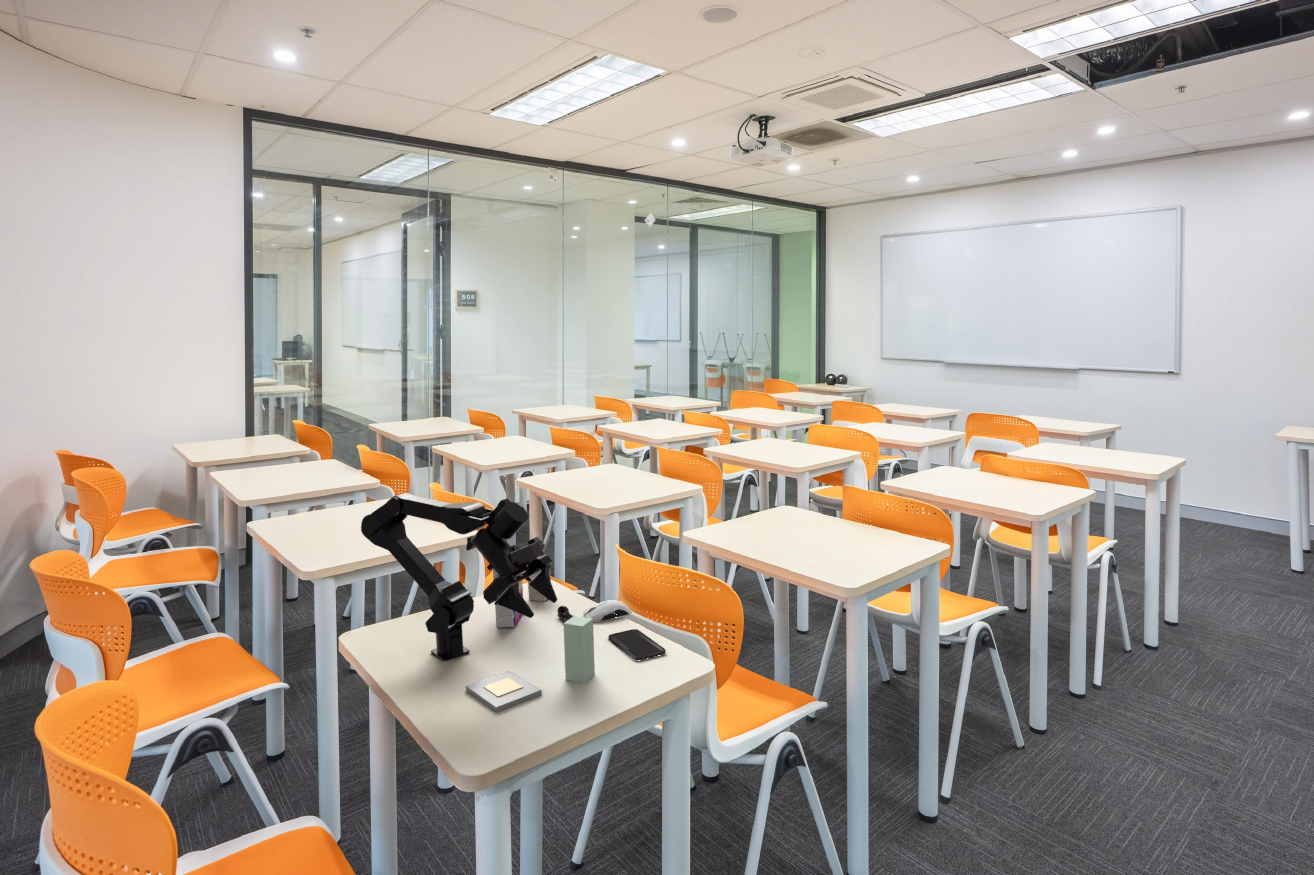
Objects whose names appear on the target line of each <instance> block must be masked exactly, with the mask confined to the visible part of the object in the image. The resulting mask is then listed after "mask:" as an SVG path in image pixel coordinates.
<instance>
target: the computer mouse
mask: <svg viewBox="0 0 1314 875" xmlns="http://www.w3.org/2000/svg"><path fill="white" fill-rule="evenodd" d="M632 612H633V611H632V610H631V609H630V608H629V606H627V605H626V604H625V603H623V602H621V601H619V600H615V599H611V600H610V599H608V600H604V601H601V602H598V603H597V604H594V605H592V606H590V607H588V608H586V609H584V610H583V611H582V616H583V617H586V618H593V623H597V622H598V623H599V622H602V621H607V620H613V619H612V618H615V617H617V618H616V619H623V618H626V617H629V616H631V615H632ZM614 613H615V614H614ZM616 614H617V615H616ZM573 616H574V615H573V614H571V613H570V611H569V608H568V606H566V605H560V606H558V609H557V617H558V618H561V620H562V621H563V622H562V623H563V624H564V623H565V622H566V621H568V620H569V619H570V618H572V617H573ZM621 617H622V618H621Z"/></svg>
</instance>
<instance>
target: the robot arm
mask: <svg viewBox="0 0 1314 875" xmlns="http://www.w3.org/2000/svg"><path fill="white" fill-rule="evenodd" d="M408 516H410V517H413V518H414V517H415V518H418V519H423V520H426V521H427V520H428V521H433V522H436V523H437V522H438V523H440V524H443V525H444V526H445V527H446V528H447V530H449V531H451V532H455V533H457V534H459V535H467V534H470V533H472V532H475V531H477V532H476V533H475V534H474V535H470V536H468V537H466V546H465V549H466V551H467V552H468V551H471V550H473V549H477V550H478V552H479V554H481V555H482V557H483V558H484V559H485V560H486V562H487V564H488V565H487V566H486V568H487V569H488V571H489V572H490V571H493V569H494V570H495V571H496V573H497V574H498V575H499V577H497V578H495V579H494V580H492V581H491V582H490V584H489V585H488V586H486V588H485V589H484V590H483V592H482V593H483V599H484V600H485V602H486V603H487V604H488V605H492V604H493V603H494V604H493V605H494V606H495V605H500V606H503V607H506V608H508V609H511V610H513V611H515V612H518V613H520V614H522V615H521V616H524V617H526V618H528V619H532V618H533V617H534V616H535V614H534V611H533V610H532V609H531V606H530V605H529V604H528V602H526V600H525V599H524V596H523V597H522V596H521V594H520V593H519V585H518V582H520V581H522V582H523V580H525V581H527V582H528V581H529V582H531V581H532V582H531V583H530V584H529V585H530V586H531V587H533V588H534V589H535V590H537V591H538V592H539V593H540V594H542V595H543V596H544V597H546V598H547V600H548V601H549V602H551V603H553V604H555V603H556V602H558V598H557V595H556V592H555V590H554V586H553V585H552V582H551V581H550V578H551V577H550V578H549V572H550V573H551V568H552V564H553V560H552V559H551V558H550V556H549V555H548V554H545V552H544V550H545V547H546V544H545V543H544V541H543V540H541V539H540V538H539V537H538V536H535V537H533V538H531V539H528V540H527V545H526V546H524V547H522V548H520V547H519V546H518V545H517V544H513V545H511V544H510V543H509V542H508V541H507V540H510V539H512V538H513V536H515V534H517V532H518V531H520V529H521V528H522V527H523V526H524V525H525V523H526V522H527V521H528V520H529V515H528V511H526V509H525V508H524V506H521V505H519V504H518V503H516V502H515V501H510V499H509V497H506V498H503V499H500V501H499V502H498V503H497V505H496V507H495V508H494V509H493V508H487V507H485V505H484V504H483V503H481V502H475V501H474V502H469V501H467V502H457V503H456V502H455V503H451V502H446V501H440V500H435V499H431V498H427V497H422V496H419V495H418V496H417V495H413V494H412V493H409V492H405V493H401V494H397V495H394V496H391V498H390V499H388V501H386V502H385V503H384V504H383V505H381V506H379V507H378V508H377V509H376V510H373V512H372V513H369V514H367V515H365V516H363V518H362V520H361V522H360V523H361V526H360V531H361V533H362V535H363V536H364V537H365V538H366V539H367V540H368V541H369V542H370V543H372V544H373V545H374V546H377V547H379V548H382V549H383V550H386V551H388V552H389V554H391V555H392V557H394V559H395V560H396V561H397V562H398V563H399V565H400V566H401V567H402V568H403V569H404V570H405V571H406V572H407V574H408V575H409V576H410V577H411V578H412V579H413V581H415V583H416V584H417V585H418V586H419V588H421V590H422V591H423V592H424V594H426V596H427V598H428V601H429V610H430V611H431V612H432V614H431V616H430V617H429V618H428V619H427V620H426V622H425V626H426V630H427V632H428V633H432V634H433V633H434V634H435V642H436V648H433V649H431V650H430V653H431V654H432V653H433V655H434V656H435V657H437V658H438V659H440V660H441V661H448V660H451V659H453V658H457V657H460V656H463V655H466V654H469V653H470V649H469V648H467V647H466V646H464V640H463V635H464V634H463V624H464V623H467V622H469V621H470V618H471V615H472V614H473V612H474V608H475V607H474V606H475V605H474V603H475V601H474V599H473V597H472V595H471V594H472V592H471V591H469V590H468V589H467V588H466V587H465V586H464V584H463V583H462V582H461V581H460V580H456V581H454V582H453V583H452V582H449V581H447V580H446V578H444V577H443V576H442V575H441V573H440V572H439V571H438V569H436V568H435V566H434V565H433V564H432V563H431V562H430V561H429V560H428V559H427V557H426V556H425V555H424V554H423V553H422V552H421V551H420V549H419V548H417V546H416V545H415V544H414V543H413V542H412V540H410V538H409V537H408V536H407V532H406V525H405V523H404V520H406V518H408ZM486 525H487V526H486ZM485 526H486V527H485ZM521 575H522V576H521ZM515 578H516V579H515ZM495 601H496V602H495Z"/></svg>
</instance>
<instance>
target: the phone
mask: <svg viewBox="0 0 1314 875" xmlns="http://www.w3.org/2000/svg"><path fill="white" fill-rule="evenodd" d="M607 638H608V640H609V641H610V643H612V644H613V645H615V646H616V647H617V648H618V647H619V648H620V649H619V648H618V649H619V650H621V652H623V651H624V652H625V653H624V652H623V653H624V654H626V655H627V656H628V655H629V656H630V657H629V656H628V657H629V658H631V657H632V658H631V659H632V660H633V659H634V660H643V661H645V660H644V659H647V658H651V657H654V656H658V655H662V656H664V655H663V654H665V653H667V650H666V648H664V647H663V646H662V645H661V644H659V643H658V642H656V641H655V640H653V639H652V638H651V637H649V636H648V635H646V634H645V633H644V632H642V631H641V630H639V629H638V628H637V629H636V628H634V629H632V628H631V629H628V630H623V631H619V632H615V633H611V634H608V637H607ZM665 655H666V654H665ZM634 660H633V661H634ZM647 660H648V659H647Z"/></svg>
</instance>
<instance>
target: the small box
mask: <svg viewBox="0 0 1314 875" xmlns="http://www.w3.org/2000/svg"><path fill="white" fill-rule="evenodd" d="M549 578H550V581H551V578H552V577H551V571H550V572H549ZM531 582H532V581H531ZM531 582H529V581H527V590H528V591H527V593H528V600H529V599H530V600H529V601H540V602H546V601H547V600H548V599H547V598H546V597H544V596H543V595H542V594H540V593H539V592H538V591H537V590H535V589H534V588H533V587H531V586H530V585H529V584H530V583H531Z"/></svg>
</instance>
